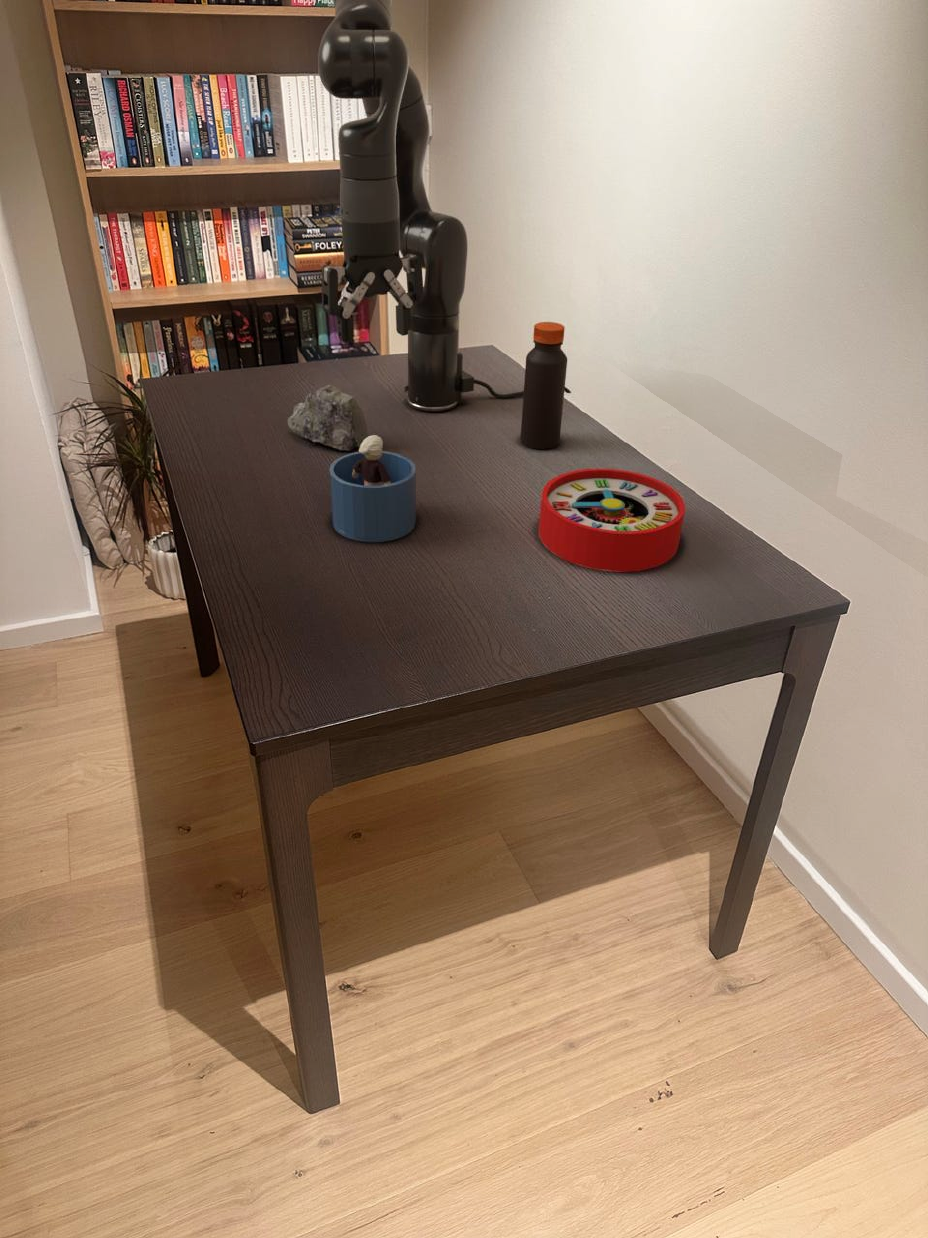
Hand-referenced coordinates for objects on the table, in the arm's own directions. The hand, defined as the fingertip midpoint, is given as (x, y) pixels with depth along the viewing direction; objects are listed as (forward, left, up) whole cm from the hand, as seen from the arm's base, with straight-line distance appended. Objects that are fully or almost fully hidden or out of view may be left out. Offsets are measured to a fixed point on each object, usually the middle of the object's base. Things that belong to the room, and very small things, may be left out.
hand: (375, 338), depth 126 cm
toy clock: (-23, +27, -24) cm, 43 cm away
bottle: (-33, -5, -24) cm, 41 cm away
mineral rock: (-1, -22, -24) cm, 32 cm away
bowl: (+5, +8, -24) cm, 26 cm away
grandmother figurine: (+5, +8, -23) cm, 25 cm away
